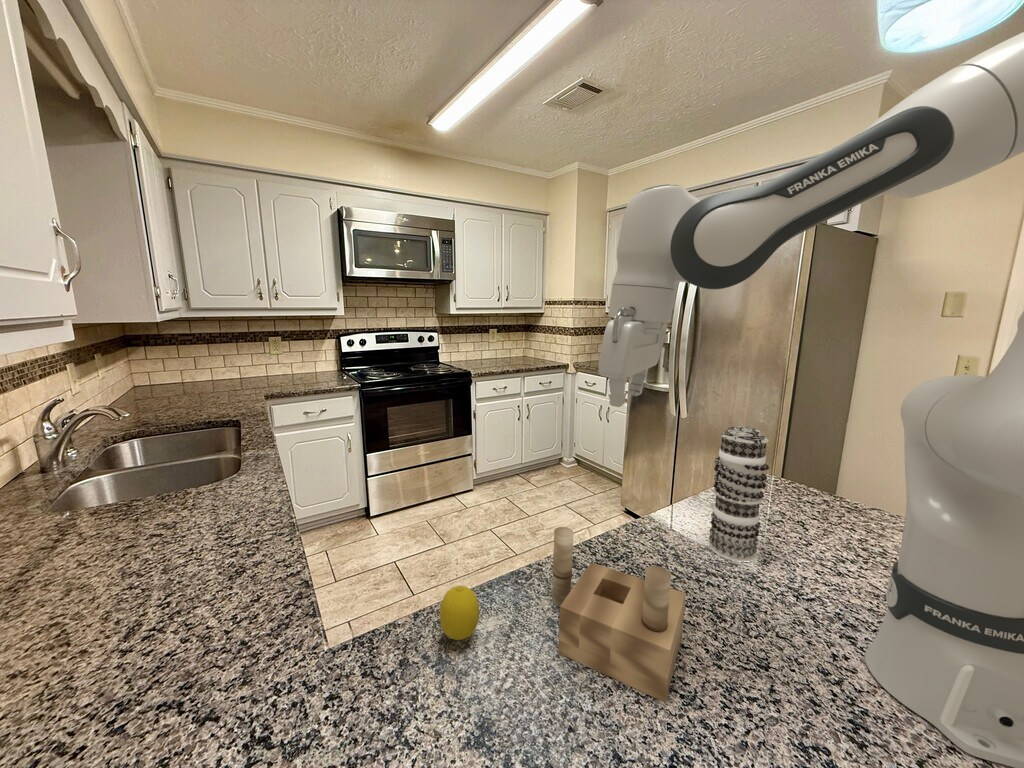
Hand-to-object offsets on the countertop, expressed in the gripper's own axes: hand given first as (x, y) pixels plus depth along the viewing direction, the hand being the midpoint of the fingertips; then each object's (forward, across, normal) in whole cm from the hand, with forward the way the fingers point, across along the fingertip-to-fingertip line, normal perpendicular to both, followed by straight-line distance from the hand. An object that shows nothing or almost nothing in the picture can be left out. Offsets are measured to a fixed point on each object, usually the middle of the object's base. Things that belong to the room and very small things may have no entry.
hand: (626, 400), depth 62 cm
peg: (+34, -6, +4) cm, 34 cm away
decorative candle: (+32, +26, -19) cm, 45 cm away
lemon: (+34, -21, +13) cm, 42 cm away
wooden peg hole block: (+32, -10, -7) cm, 35 cm away
